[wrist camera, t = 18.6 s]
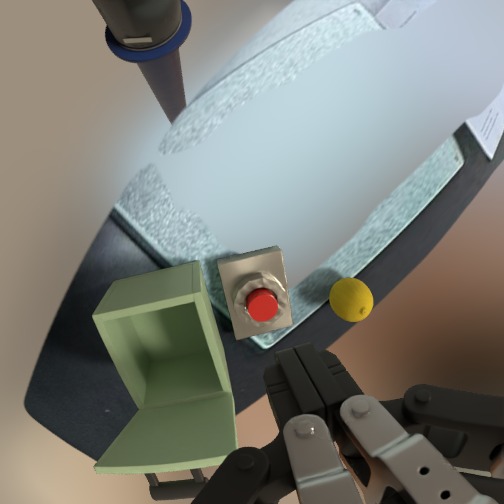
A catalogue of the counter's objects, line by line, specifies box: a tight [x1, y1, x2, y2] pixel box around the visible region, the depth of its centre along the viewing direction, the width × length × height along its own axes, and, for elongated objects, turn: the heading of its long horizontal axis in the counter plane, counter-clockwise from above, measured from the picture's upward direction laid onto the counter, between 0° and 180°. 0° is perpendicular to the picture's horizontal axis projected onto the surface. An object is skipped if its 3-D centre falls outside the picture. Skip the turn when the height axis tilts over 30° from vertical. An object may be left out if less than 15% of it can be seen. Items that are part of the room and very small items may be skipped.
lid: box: [94, 394, 238, 501], centre depth 24 cm, size 15×12×5 cm
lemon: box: [329, 278, 373, 322], centre depth 39 cm, size 6×6×8 cm
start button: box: [246, 289, 278, 322], centre depth 36 cm, size 4×4×2 cm
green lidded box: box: [92, 261, 232, 410], centre depth 34 cm, size 14×12×10 cm
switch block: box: [216, 246, 293, 340], centre depth 38 cm, size 11×8×4 cm
